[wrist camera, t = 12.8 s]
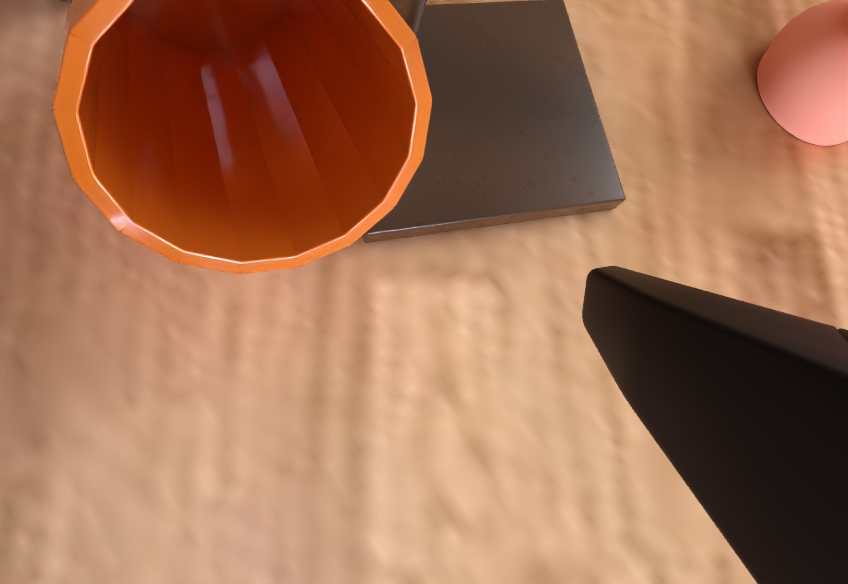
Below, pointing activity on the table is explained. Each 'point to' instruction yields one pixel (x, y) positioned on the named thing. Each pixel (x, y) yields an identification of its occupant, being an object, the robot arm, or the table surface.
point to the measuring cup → (241, 123)
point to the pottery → (809, 75)
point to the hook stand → (502, 121)
